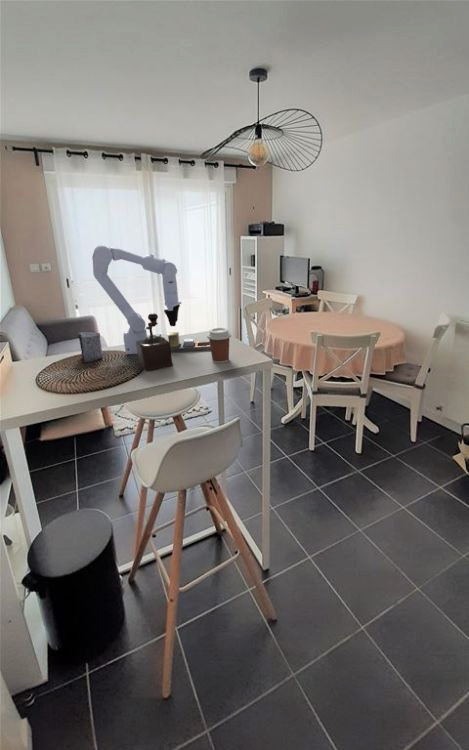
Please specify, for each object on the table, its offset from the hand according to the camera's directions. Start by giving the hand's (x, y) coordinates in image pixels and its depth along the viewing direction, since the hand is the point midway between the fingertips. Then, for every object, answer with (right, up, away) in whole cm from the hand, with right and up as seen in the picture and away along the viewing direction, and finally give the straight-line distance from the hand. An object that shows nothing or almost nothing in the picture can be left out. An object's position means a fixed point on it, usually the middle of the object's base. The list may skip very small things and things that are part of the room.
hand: (173, 323), depth 154 cm
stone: (-32, -16, -7) cm, 36 cm away
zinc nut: (+7, -11, -1) cm, 13 cm away
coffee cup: (+21, -17, -16) cm, 31 cm away
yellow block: (+1, -11, -1) cm, 11 cm away
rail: (+7, -11, -1) cm, 13 cm away
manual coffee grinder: (-5, -18, -15) cm, 24 cm away
